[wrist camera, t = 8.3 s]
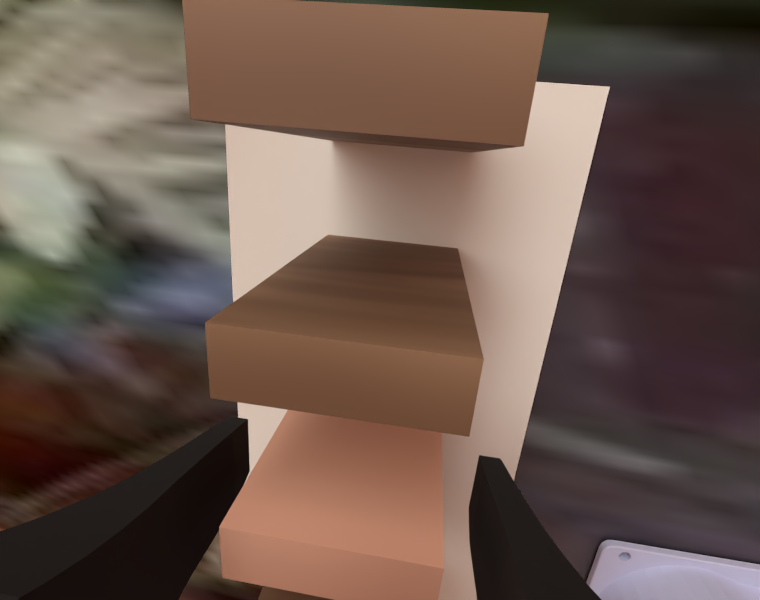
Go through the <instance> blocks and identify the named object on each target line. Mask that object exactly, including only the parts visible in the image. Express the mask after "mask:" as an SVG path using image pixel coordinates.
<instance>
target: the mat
mask: <svg viewBox="0 0 760 600" xmlns="http://www.w3.org/2000/svg"><path fill="white" fill-rule="evenodd" d="M609 88H610V87H605V86H590V85H575V84H560V83H545V82H536V84H535V90H534V95H533V100H532V106H531V111H530V116H529V122H528V127H527V132H526V138H525V143H524V146H522V147H514V148H505V149H497V150H489V151H480V152H460V151H448V150H436V149H424V148H412V147H401V146H389V145H377V144H365V143H353V142H341V141H330V140H324V139H317V138H311V137H304V136H298V135H291V134H285V133H278V132H272V131H265V130H259V129H252V128H246V127H239V126H233V125H226V124H225V130H226V152H227V174H228V197H229V219H230V242H231V264H232V287H233V302H235V301H236V300H237V299H239V298H240V297H242V296H243V295H244V294H246V293H247V292H249V291H250V290H251V289H253V288H254V287H256V286H257V285H258V284H260V283H261V282H262V281H264V280H265V279H267V278H268V277H269V276H271V275H272V274H274V273H275V272H276V271H278V270H279V269H281V268H282V267H283V266H285V265H286V264H288V263H289V262H290V261H292V260H293V259H295V258H296V257H297V256H299V255H300V254H302V253H303V252H304V251H306V250H307V249H309V248H310V247H311V246H313V245H314V244H315V243H317V242H318V241H320V240H321V239H322V238H324V237H325V236H327V235H338V236H347V237H356V238H366V239H375V240H385V241H394V242H403V243H413V244H422V245H431V246H441V247H450V248H458V251H459V255H460V260H461V264H462V268H463V272H464V277H465V281H466V285H467V290H468V294H469V298H470V302H471V307H472V311H473V315H474V319H475V324H476V328H477V332H478V336H479V341H480V345H481V349H482V354H483V358H484V361H483V367H482V372H481V377H480V382H479V388H478V393H477V398H476V404H475V409H474V414H473V420H472V425H471V430H470V436H469V437H467V436H460V435H454V434H447V433H442V487H443V541H444V571H443V576H442V581H441V587H440V592H439V597H438V600H477V595H476V587H475V580H474V573H473V566H472V558H471V551H470V542H469V503H470V498H471V493H472V488H473V483H474V478H475V473H476V468H477V463H478V458H479V455H482V456H488V457H495V458H500V459H501V460H502V462H503V463H504V465H505V467H506V468H507V470H508V472H509V474H510V476H511V477H512V479H513V481H514V478H515V474H516V470H517V466H518V461H519V457H520V453H521V449H522V445H523V441H524V437H525V433H526V429H527V425H528V420H529V416H530V412H531V408H532V404H533V400H534V396H535V392H536V388H537V383H538V379H539V375H540V371H541V367H542V363H543V359H544V355H545V351H546V347H547V342H548V338H549V334H550V330H551V326H552V322H553V318H554V314H555V310H556V305H557V301H558V297H559V293H560V289H561V285H562V281H563V277H564V273H565V269H566V264H567V260H568V256H569V252H570V248H571V244H572V240H573V236H574V232H575V227H576V223H577V219H578V215H579V211H580V207H581V203H582V199H583V195H584V191H585V186H586V182H587V178H588V174H589V170H590V166H591V162H592V158H593V154H594V149H595V145H596V141H597V137H598V133H599V129H600V125H601V121H602V117H603V113H604V108H605V104H606V100H607V96H608V92H609ZM286 412H287V410H286V409H280V408H273V407H266V406H260V405H253V404H246V403H240V402H238V418H244V419H248V435H249V464H250V472H249V474H248V476H247V478H246V480H247V479H248V477H249V475H250V473H251V472H252V470H253V468H254V467H255V465H256V463H257V462H258V460H259V458H260V456H261V455H262V453H263V451H264V450H265V448H266V446H267V445H268V443H269V441H270V439H271V438H272V436H273V434H274V433H275V431H276V429H277V427H278V426H279V424H280V422H281V421H282V419H283V417H284V416H285V414H286ZM245 482H246V481H245ZM244 484H245V483H244Z"/></svg>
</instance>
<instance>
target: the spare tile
mask: <svg viewBox="0 0 760 600" xmlns="http://www.w3.org/2000/svg"><path fill="white" fill-rule="evenodd" d="M219 534H220V549H221V565H222V578H227V579H232V580H237V581H242V582H247V583H252V584H257V585H262V586H267V587H272V588H277V589H282V590H288V591H293V592H298V593H303V594H308V595H313V596H318V597H323V598H328V599H333V600H438V597H439V592H440V587H441V581H442V576H443V571H444V541H443V487H442V433H440V432H434V431H427V430H420V429H414V428H407V427H400V426H393V425H387V424H380V423H373V422H367V421H360V420H353V419H347V418H340V417H333V416H327V415H320V414H313V413H307V412H300V411H293V410H287V412H286V414H285V416H284V417H283V419H282V421H281V422H280V424H279V426H278V427H277V429H276V431H275V433H274V434H273V436H272V438H271V439H270V441H269V443H268V445H267V446H266V448H265V450H264V451H263V453H262V455H261V456H260V458H259V460H258V462H257V463H256V465H255V467H254V468H253V470H252V472H251V473H250V475H249V477H248V479H247V480H246V482H245V484H244V485H243V487H242V489H241V490H240V492H239V494H238V496H237V497H236V499H235V501H234V502H233V504H232V506H231V508H230V509H229V511H228V513H227V514H226V516H225V518H224V519H223V521H222V523H221V525H220V526H219Z"/></svg>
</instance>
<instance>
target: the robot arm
mask: <svg viewBox="0 0 760 600" xmlns="http://www.w3.org/2000/svg"><path fill="white" fill-rule="evenodd" d="M249 472H250V464H249V435H248V419H244V418H237V417H231V416H229V417H228V418H226V419H224V420H223V421H221V422H220V423H218V424H216V425H215V426H213V427H212V428H210V429H209V430H207V431H206V432H204V433H203V434H201V435H200V436H198V437H197V438H195V439H193V440H192V441H190V442H189V443H187V444H186V445H184V446H182V447H181V448H179V449H178V450H176V451H174V452H173V453H171V454H170V455H168V456H166V457H164V458H163V459H161V460H159V461H158V462H156V463H154V464H152V465H151V466H149V467H147V468H146V469H144V470H142V471H140V472H139V473H137V474H135V475H133V476H131V477H129V478H127V479H126V480H124V481H122V482H120V483H118V484H116V485H114V486H112V487H110V488H107V489H105V490H103V491H101V492H99V493H97V494H95V495H93V496H91V497H88V498H86V499H83V500H81V501H79V502H76V503H74V504H72V505H69V506H67V507H65V508H62V509H60V510H58V511H55V512H53V513H50V514H48V515H45V516H42V517H40V518H37V519H34V520H32V521H29V522H26V523H23V524H21V525H18V526H15V527H12V528H9V529H6V530H3V531H0V600H178V599H179V597H180V595H181V593H182V591H183V589H184V587H185V586H186V584H187V582H188V580H189V579H190V577H191V575H192V573H193V572H194V570H195V568H196V567H197V565H198V563H199V562H200V560H201V558H202V557H203V555H204V554H205V552H206V550H207V549H208V547H209V545H210V544H211V542H212V541H213V539H214V537H215V536H216V534H217V532H218V531H219V526H220V525H221V523H222V521H223V519H224V518H225V516H226V514H227V513H228V511H229V509H230V508H231V506H232V504H233V502H234V501H235V499H236V497H237V496H238V494H239V492H240V490H241V489H242V487H243V485H244V483H245V481H246V478H247V476H248V474H249ZM469 542H470V551H471V558H472V566H473V573H474V580H475V587H476V595H477V600H760V564H754V563H748V562H742V561H736V560H730V559H724V558H718V557H712V556H706V555H700V554H694V553H688V552H682V551H676V550H670V549H664V548H658V547H653V546H647V545H641V544H635V543H629V542H623V541H617V540H605V541H603V542H602V543H601V544H600V546H599V548H598V551H597V554H596V556H595V559H594V562H593V565H592V568H591V570H590V573H589V576H588V579H587V582H585V581H584V580H583V578H582V577H581V576H580V575H579V574H578V572H577V571H576V570H575V569H574V568H573V566H572V565H571V564H570V563H569V561H568V560H567V559H566V558H565V556H564V555H563V554H562V552H561V551H560V550H559V548H558V547H557V546H556V544H555V543H554V542H553V540H552V539H551V538H550V536H549V535H548V533H547V532H546V531H545V529H544V528H543V526H542V525H541V523H540V522H539V520H538V519H537V517H536V516H535V514H534V513H533V511H532V510H531V508H530V507H529V505H528V504H527V502H526V500H525V499H524V497H523V496H522V494H521V492H520V491H519V489H518V487H517V486H516V484H515V482H514V481H513V479H512V477H511V476H510V474H509V472H508V470H507V468H506V467H505V465H504V463H503V462H502V460H501V459H500V458H495V457H488V456H482V455H479V458H478V463H477V468H476V473H475V478H474V483H473V488H472V493H471V498H470V503H469ZM623 552H624V553H623Z"/></svg>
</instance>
